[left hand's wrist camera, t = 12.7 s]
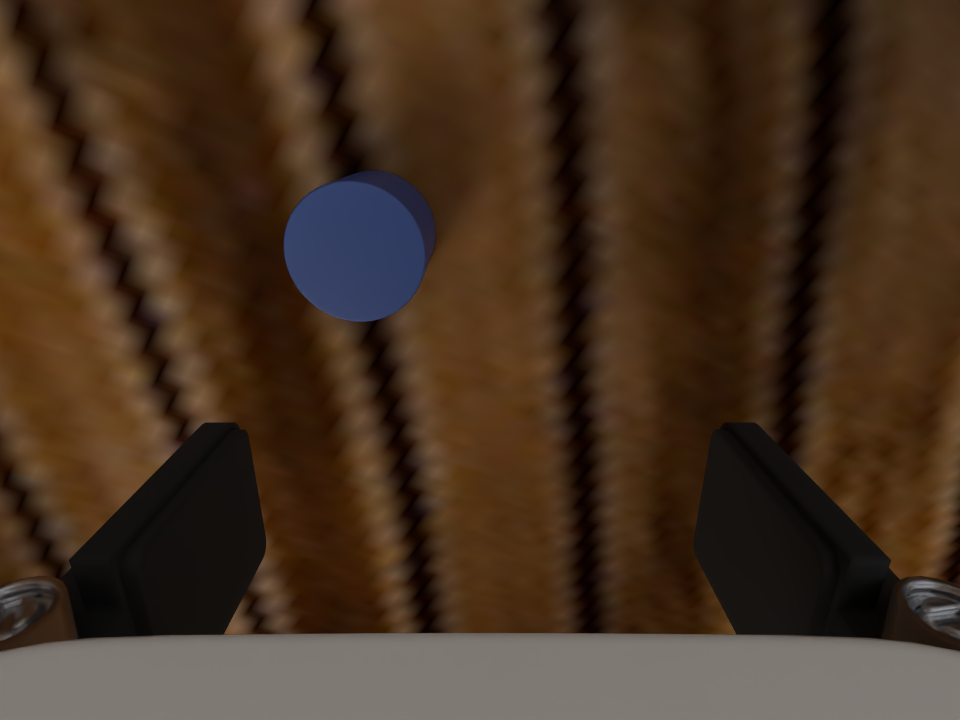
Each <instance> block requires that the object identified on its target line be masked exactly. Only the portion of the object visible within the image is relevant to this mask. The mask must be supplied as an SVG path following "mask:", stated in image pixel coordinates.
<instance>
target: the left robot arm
mask: <svg viewBox="0 0 960 720" xmlns="http://www.w3.org/2000/svg"><path fill="white" fill-rule="evenodd" d="M265 550H266V536H265V530H264V524H263V518H262V512H261V507H260V501H259V495H258V489H257V483H256V477H255V471H254V465H253V459H252V453H251V448H250V442H249V436H248V433H247V431H245V430H240V429H239V427H238V425H237V424H236V423H204V424H202V425H201V426H200V427H199V428H198V429H197V430H196V431H195V432H194V433H193V434H192V435H191V436H190V437H189V439H188V440H187V441H186V442H185V443H184V444H183V445H182V446H181V447H180V448H179V449H178V450H177V451H176V452H175V453H174V454H173V455H172V456H171V457H170V458H169V459H168V460H167V461H166V462H165V463H164V464H163V465H162V466H161V467H160V468H159V469H158V470H157V471H156V472H155V473H154V474H153V475H152V476H151V477H150V478H149V479H148V480H147V481H146V482H145V483H144V484H143V485H142V486H141V487H140V488H139V489H138V490H137V491H136V492H135V493H134V494H133V495H132V497H131V498H130V499H129V500H128V501H127V502H126V503H125V504H124V505H123V506H122V507H121V508H120V509H119V510H118V511H117V512H116V513H115V514H114V515H113V516H112V517H111V518H110V519H109V520H108V521H107V522H106V523H105V524H104V525H103V526H102V527H101V528H100V529H99V530H98V531H97V532H96V533H95V534H94V535H93V536H92V537H91V538H90V539H89V540H88V541H87V542H86V543H85V544H84V545H83V546H82V547H81V548H80V549H79V550H78V551H77V552H76V553H75V554H74V556H73V557H72V558H71V559H70V560H69V562H70V565H71V569H70V570H69V571H68V572H67V573H66V574H65V575H64V576H63V577H62V578H61V579H60V580H59V579H56V578H54V577H45V576H36V577H29V578H22V579H19V580H16V581H12V582H9V583H6V584H3V585H0V720H960V585H957V584H954V583H951V582H948V581H944V580H941V579H938V578H931V577H924V576H915V577H906V578H904V579H901V580H900V579H899V578H898V577H897V576H896V575H895V574H894V573H893V572H892V571H891V570H890V569H889V565H890V562H891V560H890V559H889V558H888V557H887V556H886V554H885V553H884V552H883V551H882V550H881V549H880V548H879V547H878V546H877V545H876V544H875V543H874V542H873V541H872V540H871V539H870V538H869V537H868V536H867V535H866V534H865V533H864V532H863V531H862V530H861V529H860V528H859V527H858V526H857V525H856V524H855V523H854V522H853V521H852V520H851V519H850V518H849V517H848V516H847V515H846V514H845V513H844V512H843V511H842V510H841V509H840V508H839V507H838V506H837V505H836V504H835V503H834V502H833V501H832V500H831V499H830V498H829V497H828V495H827V494H826V493H825V492H824V491H823V490H822V489H821V488H820V487H819V486H818V485H817V484H816V483H815V482H814V481H813V480H812V479H811V478H810V477H809V476H808V475H807V474H806V473H805V472H804V471H803V470H802V469H801V468H800V467H799V466H798V465H797V464H796V463H795V462H794V461H793V460H792V459H791V458H790V457H789V456H788V455H787V454H786V453H785V452H784V451H783V450H782V449H781V448H780V447H779V446H778V445H777V444H776V443H775V442H774V441H773V440H772V439H771V437H770V436H769V435H768V434H767V433H766V432H765V431H764V430H763V429H762V428H761V427H760V426H759V425H758V424H756V423H724V424H723V425H722V427H721V429H720V430H715V431H713V433H712V436H711V442H710V448H709V453H708V459H707V465H706V471H705V477H704V483H703V489H702V495H701V501H700V507H699V512H698V518H697V524H696V530H695V536H694V550H695V554H696V557H697V559H698V561H699V563H700V565H701V567H702V569H703V571H704V573H705V575H706V577H707V579H708V581H709V582H710V584H711V586H712V588H713V590H714V592H715V594H716V596H717V598H718V600H719V602H720V604H721V606H722V607H723V609H724V611H725V613H726V615H727V617H728V619H729V621H730V623H731V625H732V627H733V629H734V630H735V632H736V634H737V635H726V634H584V633H365V634H240V635H223V634H224V632H225V630H226V629H227V627H228V625H229V623H230V621H231V619H232V617H233V615H234V613H235V611H236V609H237V607H238V606H239V604H240V602H241V600H242V598H243V596H244V594H245V592H246V590H247V588H248V586H249V584H250V582H251V581H252V579H253V577H254V575H255V573H256V571H257V569H258V567H259V565H260V563H261V561H262V559H263V557H264V554H265Z"/></svg>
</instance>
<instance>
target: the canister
mask: <svg viewBox="0 0 960 720" xmlns="http://www.w3.org/2000/svg"><path fill="white" fill-rule="evenodd" d="M435 237H436V234H435V223H434V219H433V215H432V212H431V210H430V208H429V205H428V204H427V202H426V200H425V199H424V197H423V196H422V195H421V194H420V192H419V191H418V190H417V189H416V188H415V187H414V186H412V185H411V184H410V183H409V182H407V181H406V180H404V179H402V178H401V177H398V176H396V175H394V174H391V173H387V172H382V171H363V172H359V173H355V174H352V175H349V176H347V177H344V178H341V179H338V180H336V181H333V182H330V183H328V184H325V185H323V186H321V187H318V188H316V189H315V190H313V191H312V192H310V193H309V194H307V195H306V196H305V197H304V198H303V199H302V200H301V201H300V202H299V203H298V204H297V206H296V207H295V209H294V210H293V212H292V213H291V216H290V218H289V220H288V222H287V226H286V229H285V235H284V255H285V261H286V264H287V268H288V271H289V273H290V276H291V278H292V279H293V281H294V283H295V285H296V286H297V288H298V289H299V290H300V292H301V293H302V294H303V295H304V296H305V297H306V299H307V300H309V301H310V302H311V303H312V304H313V305H314V306H316V307H317V308H319V309H320V310H322V311H324V312H326V313H327V314H329V315H332V316H334V317H337V318H340V319H344V320H349V321H360V322H365V321H373V320H377V319H381V318H384V317H387V316H389V315H391V314H393V313H395V312H396V311H398V310H399V309H401V308H402V307H403V306H404V305H405V304H406V303H407V302H408V301H409V300H410V299H411V298H412V297H413V295H414V294H415V293H416V291H417V289H418V287H419V286H420V283H421V281H422V278H423V276H424V273H425V270H426V268H427V265H428V263H429V260H430V258H431V255H432V253H433V249H434V245H435Z"/></svg>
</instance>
